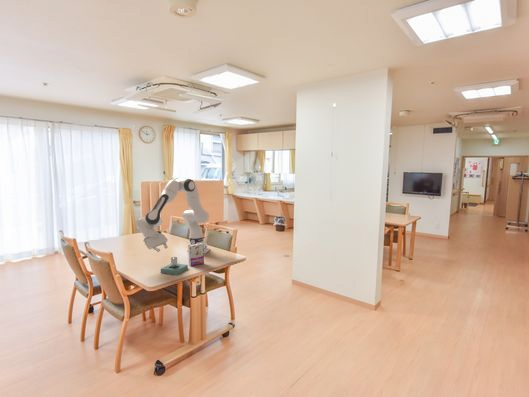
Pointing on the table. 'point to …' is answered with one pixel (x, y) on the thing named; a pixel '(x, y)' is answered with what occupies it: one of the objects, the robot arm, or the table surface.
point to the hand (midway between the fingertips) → (163, 249)
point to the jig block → (174, 271)
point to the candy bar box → (196, 254)
